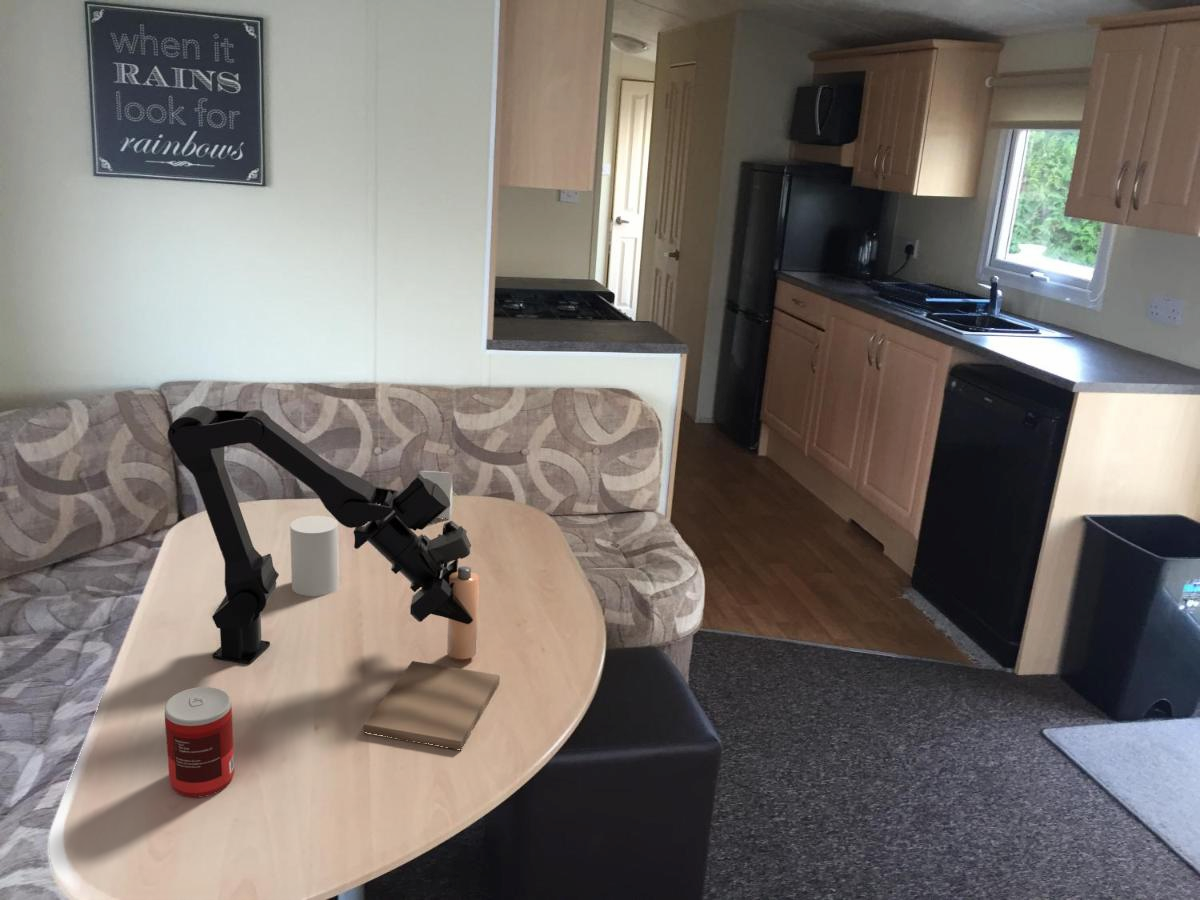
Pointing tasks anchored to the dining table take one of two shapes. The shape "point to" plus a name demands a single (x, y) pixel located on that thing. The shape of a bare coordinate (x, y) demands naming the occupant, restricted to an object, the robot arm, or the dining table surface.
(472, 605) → the peach bottle with cap
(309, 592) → the white cylinder
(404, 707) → the cardboard sheet
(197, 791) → the canned food
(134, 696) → the dining table surface
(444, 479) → the light grey box
